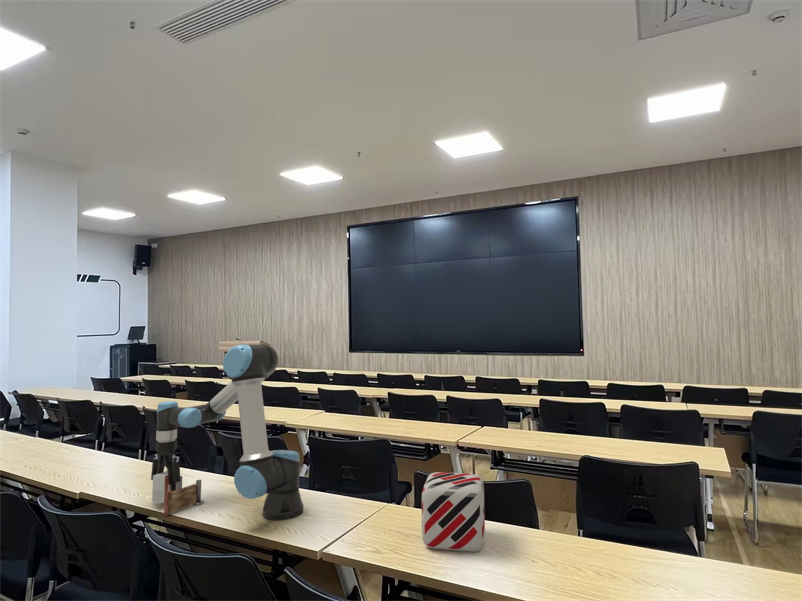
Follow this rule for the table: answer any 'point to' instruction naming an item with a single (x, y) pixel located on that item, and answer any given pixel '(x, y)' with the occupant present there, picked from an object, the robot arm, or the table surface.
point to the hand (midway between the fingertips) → (164, 499)
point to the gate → (179, 499)
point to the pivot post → (198, 493)
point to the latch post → (180, 483)
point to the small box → (160, 487)
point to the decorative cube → (453, 511)
